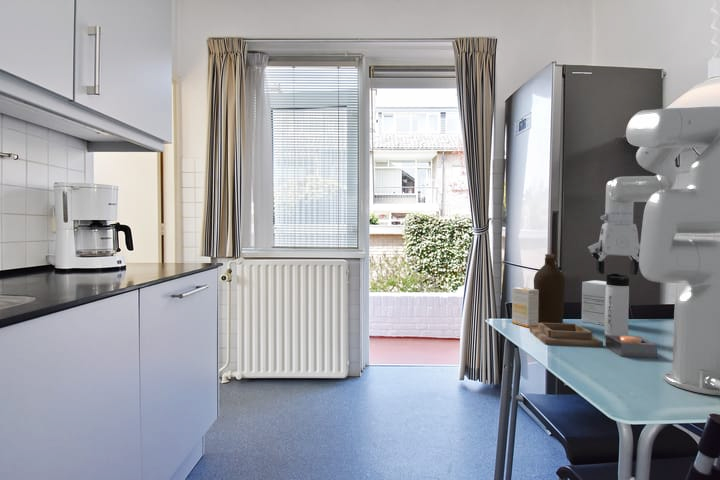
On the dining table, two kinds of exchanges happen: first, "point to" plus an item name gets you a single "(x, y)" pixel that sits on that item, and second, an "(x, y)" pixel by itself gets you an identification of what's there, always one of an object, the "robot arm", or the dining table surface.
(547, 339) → the tan flat square tray
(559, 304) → the olive oil
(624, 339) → the button
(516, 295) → the supplement box
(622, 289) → the travel mug
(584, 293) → the supplement box
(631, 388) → the dining table surface
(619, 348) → the button housing
